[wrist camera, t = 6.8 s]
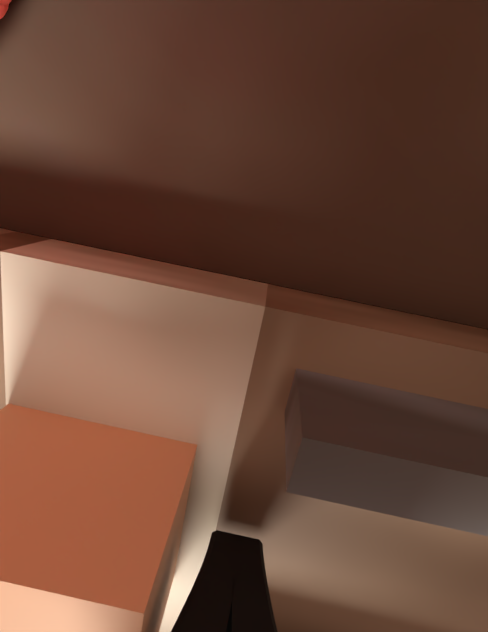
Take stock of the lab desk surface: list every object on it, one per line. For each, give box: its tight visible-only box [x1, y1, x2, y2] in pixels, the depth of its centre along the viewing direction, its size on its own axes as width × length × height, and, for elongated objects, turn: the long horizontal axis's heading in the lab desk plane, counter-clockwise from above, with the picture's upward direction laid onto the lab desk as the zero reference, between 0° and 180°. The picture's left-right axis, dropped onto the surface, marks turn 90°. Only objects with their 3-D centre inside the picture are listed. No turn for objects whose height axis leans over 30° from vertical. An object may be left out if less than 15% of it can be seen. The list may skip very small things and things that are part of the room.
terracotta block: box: [0, 404, 197, 632], centre depth 9 cm, size 5×5×4 cm
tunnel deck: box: [0, 228, 488, 632], centre depth 10 cm, size 13×28×4 cm, turn 79°
